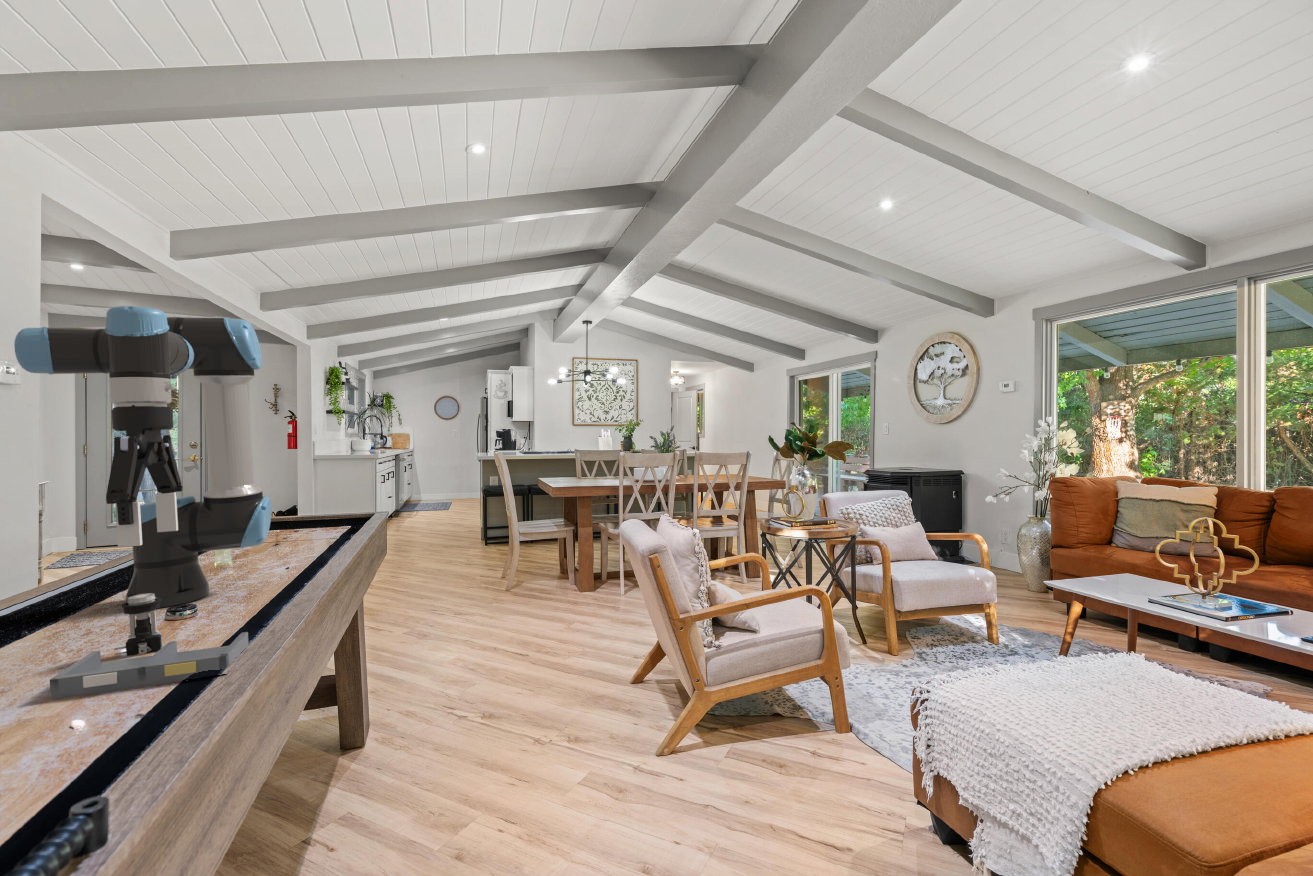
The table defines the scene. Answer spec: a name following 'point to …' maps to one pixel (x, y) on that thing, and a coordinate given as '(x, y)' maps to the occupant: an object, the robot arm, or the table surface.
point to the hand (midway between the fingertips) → (150, 538)
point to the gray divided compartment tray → (141, 669)
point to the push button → (142, 625)
